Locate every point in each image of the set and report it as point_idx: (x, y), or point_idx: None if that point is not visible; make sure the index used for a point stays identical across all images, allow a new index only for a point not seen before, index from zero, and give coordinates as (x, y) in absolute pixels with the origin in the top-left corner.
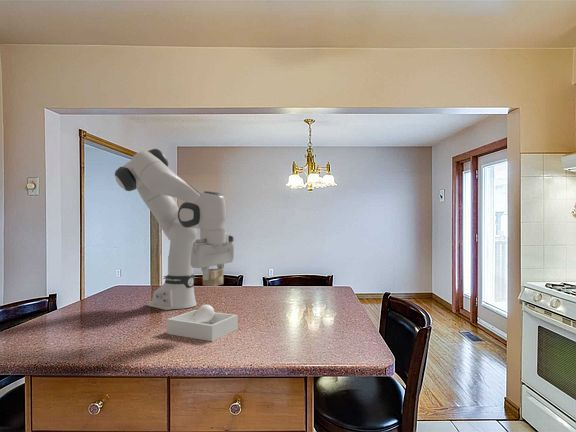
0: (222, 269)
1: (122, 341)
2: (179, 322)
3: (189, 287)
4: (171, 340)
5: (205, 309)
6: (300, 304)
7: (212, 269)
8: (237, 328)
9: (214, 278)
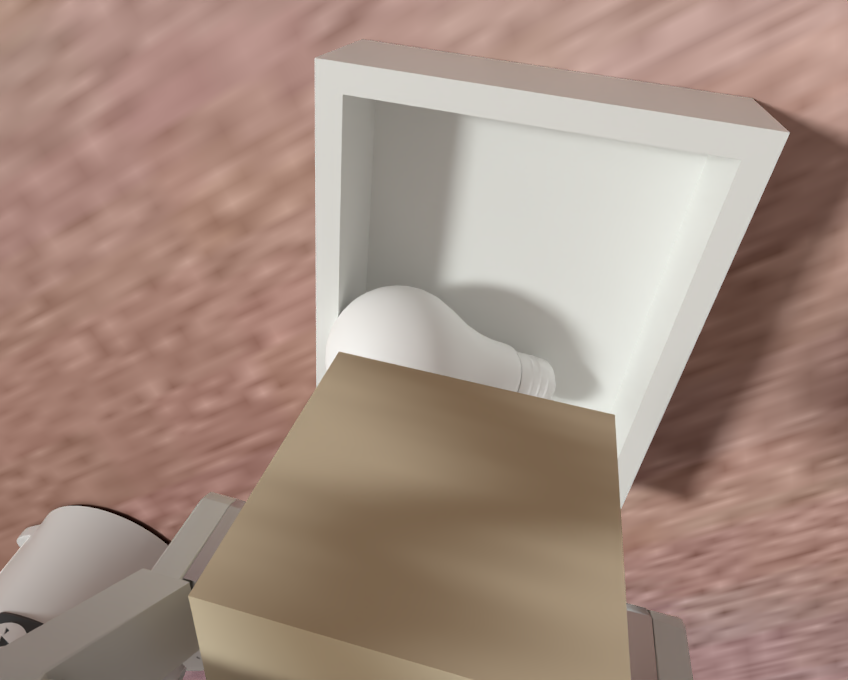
0: (99, 611)
1: (783, 592)
2: (645, 444)
3: (33, 621)
4: (745, 389)
5: (436, 367)
6: None
7: None
8: (362, 40)
9: (622, 542)
